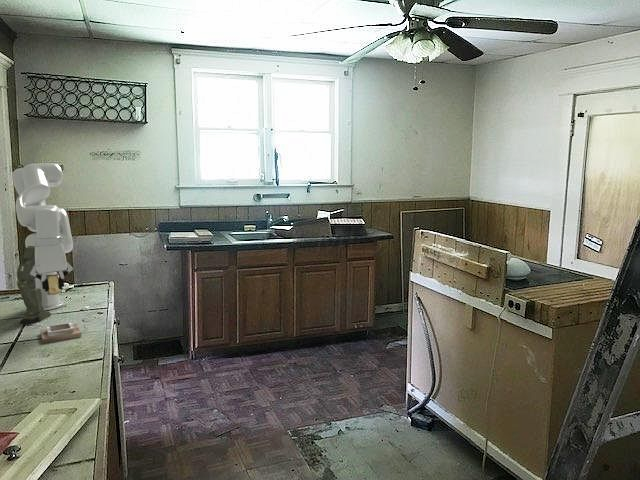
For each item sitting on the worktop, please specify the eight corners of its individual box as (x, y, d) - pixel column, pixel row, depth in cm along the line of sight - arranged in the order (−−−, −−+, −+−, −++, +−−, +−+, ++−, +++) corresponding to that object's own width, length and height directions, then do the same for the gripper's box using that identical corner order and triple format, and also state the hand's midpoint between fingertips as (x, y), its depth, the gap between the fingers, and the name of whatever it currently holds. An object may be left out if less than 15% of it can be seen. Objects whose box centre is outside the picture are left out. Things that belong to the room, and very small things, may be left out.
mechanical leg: (25, 325, 190) (31, 245, 192) (8, 324, 192) (15, 244, 194) (51, 322, 204) (57, 247, 206) (36, 321, 205) (41, 246, 207)
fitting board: (40, 334, 184) (39, 326, 183) (77, 327, 190) (76, 320, 190) (43, 343, 175) (42, 335, 174) (81, 336, 181) (80, 328, 181)
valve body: (46, 292, 191) (45, 274, 190) (60, 291, 193) (58, 273, 192) (48, 295, 187) (46, 277, 186) (61, 294, 190) (59, 275, 188)
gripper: (73, 237, 194) (77, 284, 197) (21, 242, 185) (27, 290, 189) (75, 241, 188) (79, 288, 191) (22, 245, 179) (28, 295, 182)
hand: (53, 289), depth 190 cm, fingers closed on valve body, 4 cm apart
